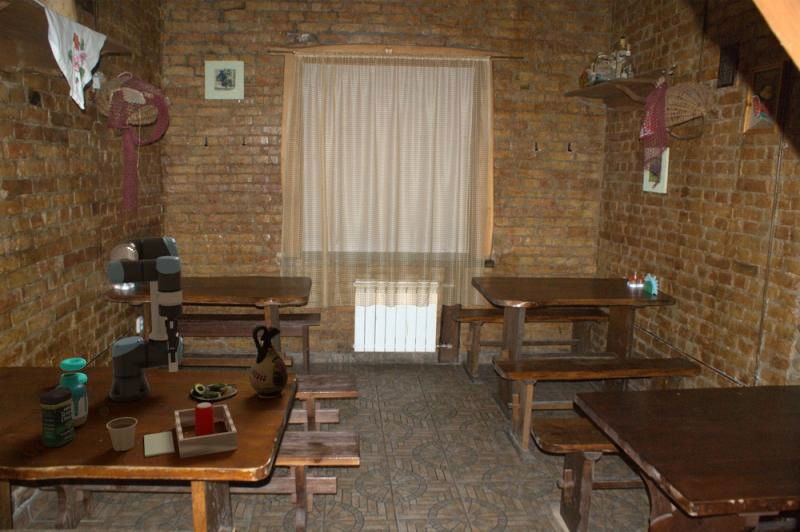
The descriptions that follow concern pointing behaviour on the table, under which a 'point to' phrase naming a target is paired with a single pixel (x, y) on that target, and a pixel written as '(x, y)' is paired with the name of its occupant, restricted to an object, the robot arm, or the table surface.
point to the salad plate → (212, 391)
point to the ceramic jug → (267, 365)
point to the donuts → (75, 367)
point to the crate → (207, 442)
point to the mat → (158, 444)
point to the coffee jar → (57, 417)
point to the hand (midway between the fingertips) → (173, 365)
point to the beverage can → (204, 419)
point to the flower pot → (122, 433)
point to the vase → (76, 397)
